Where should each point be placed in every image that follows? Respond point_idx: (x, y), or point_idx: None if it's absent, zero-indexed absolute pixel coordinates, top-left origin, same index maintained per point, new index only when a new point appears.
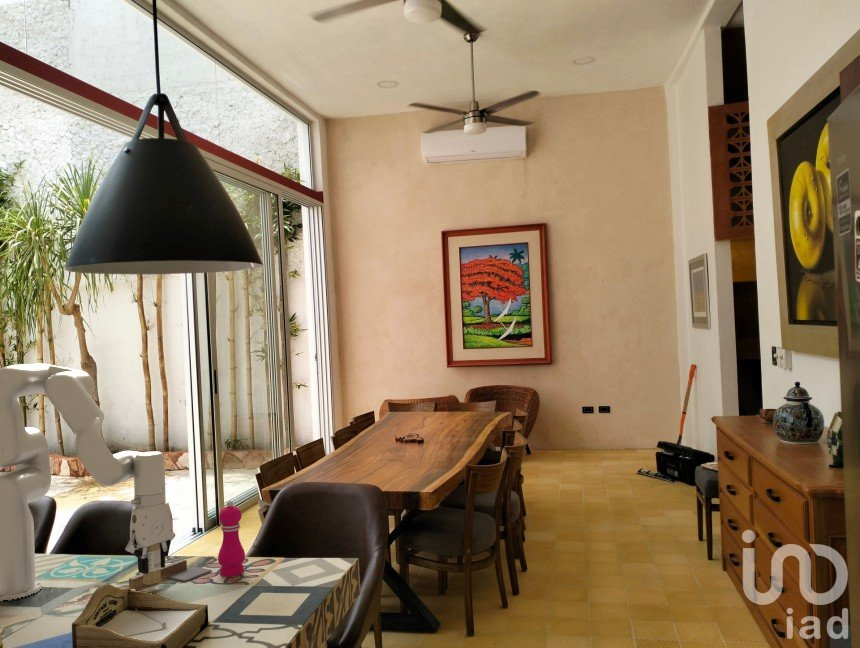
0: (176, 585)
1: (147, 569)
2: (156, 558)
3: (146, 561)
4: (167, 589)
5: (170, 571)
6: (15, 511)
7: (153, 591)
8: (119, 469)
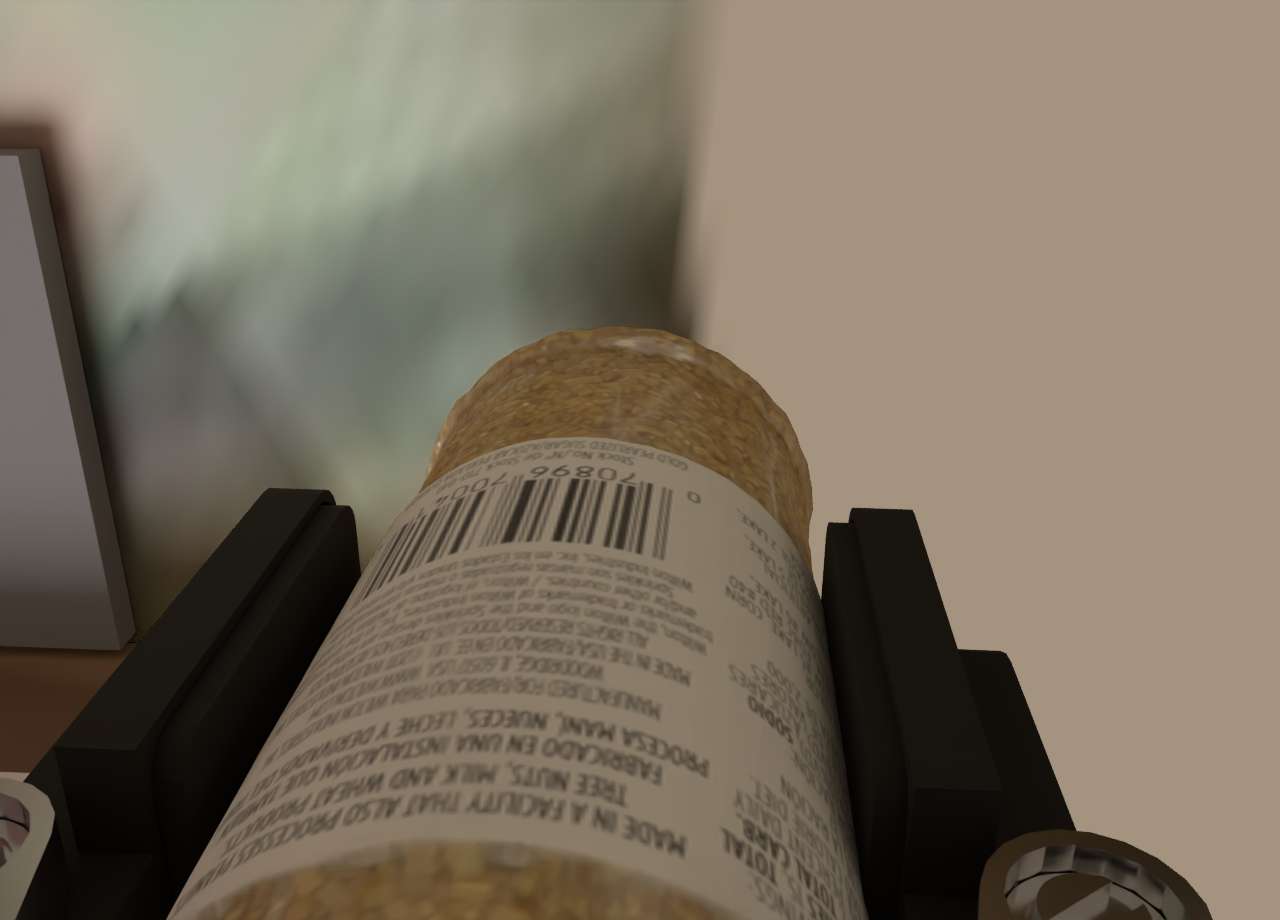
0: (245, 164)
1: (877, 554)
2: (551, 627)
3: (957, 709)
4: (487, 143)
5: (15, 698)
6: None
7: (697, 320)
8: None
